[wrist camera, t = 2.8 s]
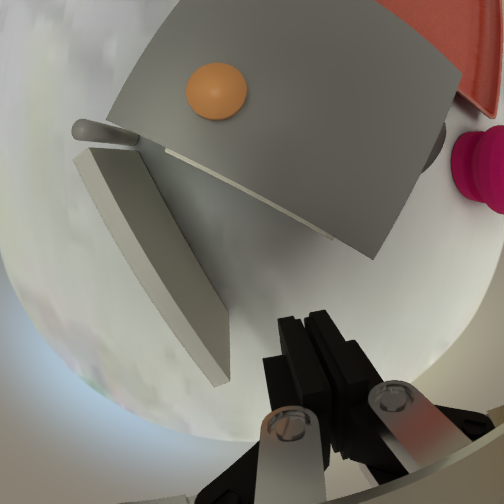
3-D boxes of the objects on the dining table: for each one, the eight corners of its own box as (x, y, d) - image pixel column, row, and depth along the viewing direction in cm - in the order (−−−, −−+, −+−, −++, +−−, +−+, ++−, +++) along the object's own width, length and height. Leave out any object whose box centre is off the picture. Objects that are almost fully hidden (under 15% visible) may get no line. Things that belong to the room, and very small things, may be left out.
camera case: (235, -1, 16) (239, -73, 8) (408, 102, 19) (484, 86, 11) (148, 136, 19) (96, 122, 11) (337, 236, 22) (394, 280, 14)
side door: (134, 128, 19) (85, 114, 11) (235, 311, 23) (238, 378, 15) (116, 140, 19) (60, 133, 11) (217, 319, 23) (214, 387, 16)
